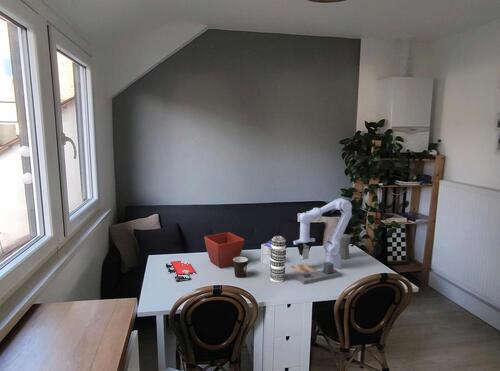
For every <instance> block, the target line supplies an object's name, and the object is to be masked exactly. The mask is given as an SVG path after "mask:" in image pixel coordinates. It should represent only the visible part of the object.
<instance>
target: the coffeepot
mask: <svg viewBox="0 0 500 371" xmlns="http://www.w3.org/2000/svg"><path fill="white" fill-rule="evenodd" d="M352 238H353V240H352V244H351V245H350V243H351V239H352ZM357 239H358V237H357V235H356V234H348V233H346V230H345V231H344V233H343V235H342V237H341V239H340V247H339V254H340V256H341V260H349V259H350V248H349V247H354V246H355V244H356V242H357Z"/></svg>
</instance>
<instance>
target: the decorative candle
mask: <svg viewBox="0 0 500 371" xmlns="http://www.w3.org/2000/svg"><path fill="white" fill-rule="evenodd" d="M271 241H272V244H271V243H270V244H271V247H270V251H271V253H270V254H271V255H270V257H271V266H270V269H269V270H270V273H269V274H270V276H269V277H270V278H269V279H270V281H271V282H274V283H283V282H284V281H285V278H286V265H285V262H286V258H287V257H286V255H287V250H286V249H287V246H286V238H285V237H284V236H282V235H275V236H273V238H271Z"/></svg>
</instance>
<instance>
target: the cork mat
mask: <svg viewBox="0 0 500 371" xmlns="http://www.w3.org/2000/svg"><path fill="white" fill-rule="evenodd" d="M290 268H291V269H293V270H295V271H296V272H298V273H299V274H306V273H311V272H316V271H317V269H316V268H315V267H312V266H311V265H309V264H308V263H306V262H305V263H300V264H295V265H290Z"/></svg>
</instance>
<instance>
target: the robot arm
mask: <svg viewBox="0 0 500 371" xmlns="http://www.w3.org/2000/svg"><path fill="white" fill-rule="evenodd" d="M352 208H353V205H352V203H351V201H350V200H347V199H345V198H343V197H338V198H337V199H334V200H332V201H331V202H329V203H327V204H325V205H323V206H322V207H313V208H312V209H310V210H309V211H308V210H306V212H302V213H301V214H299V217H298V219H299V221H300V223H299V224H300V225H299V226H300V227H299V239H296V240H293V245H296V247H297V250H298V253H299V254H300V255H302V254H303V247H304V245H303V244H306V245H308V246H309V252H310V250H311V247H312V246H313V243H314V242H316V238H315V237H310V230H311V229H310V228H311V227H310V226H311V223H312V222H313V221H314V220H316V219H317V218H320V217H322V216H323V214H325V213H327V212H329V211H331V210H334V209H336V210H339V212H340V214H341V216H340V217H339V220H338V222H337V225H336V226H335V228H334V231H333V232H332V235H331V237H330V238H328V239H327V240H326V242H325V243H324V244H323V249H324V250H325V252H324V254H325V255H324V263H325V262H331V263H332V264H334V266H333V269H335V270H338V269H339V270H340V269H342V266H341V265H342V263H341V262H342V259H341V256H340V254H339V247H340V239H341V237H342V235H343V233H344V231H345V232H346V228H347V227H348V224H349V221H350V220H351V218H352V215H353V214H352V213H353V212H352ZM321 267H322V268H323V267H324V264H322V265H321Z"/></svg>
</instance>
